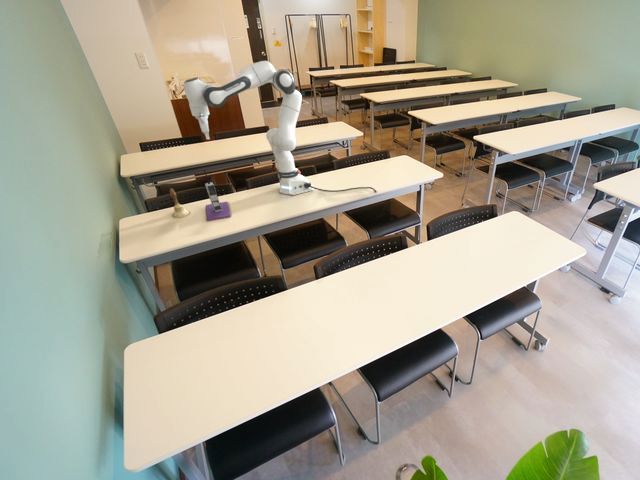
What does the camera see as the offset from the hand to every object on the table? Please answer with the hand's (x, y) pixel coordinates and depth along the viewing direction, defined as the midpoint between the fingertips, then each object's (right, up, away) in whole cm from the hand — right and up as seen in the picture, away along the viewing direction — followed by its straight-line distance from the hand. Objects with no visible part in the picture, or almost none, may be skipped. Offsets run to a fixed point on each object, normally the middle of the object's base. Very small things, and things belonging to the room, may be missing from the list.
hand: (207, 137), depth 197 cm
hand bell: (-19, -44, +5) cm, 48 cm away
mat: (+1, -42, +9) cm, 43 cm away
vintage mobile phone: (+2, -42, +8) cm, 42 cm away
